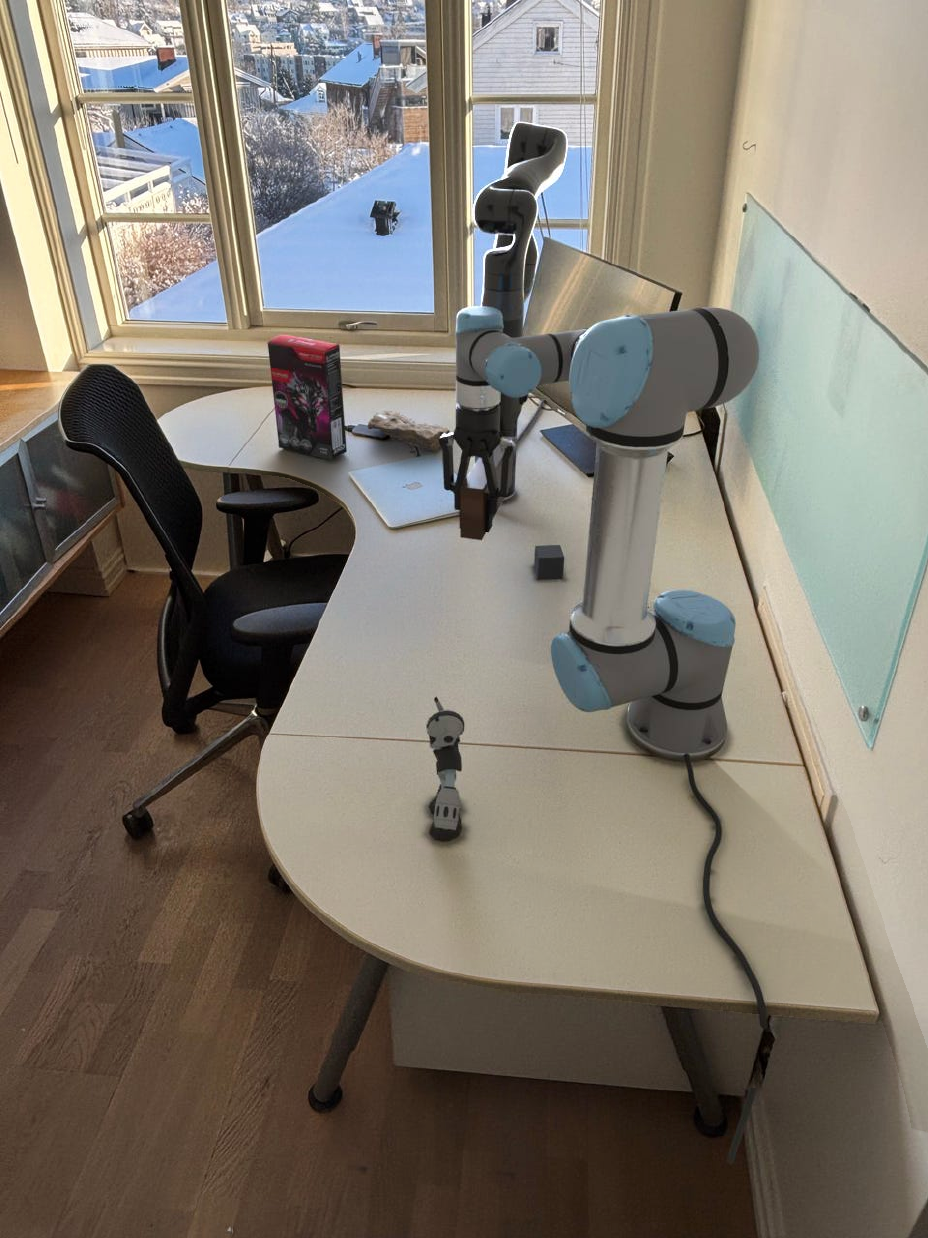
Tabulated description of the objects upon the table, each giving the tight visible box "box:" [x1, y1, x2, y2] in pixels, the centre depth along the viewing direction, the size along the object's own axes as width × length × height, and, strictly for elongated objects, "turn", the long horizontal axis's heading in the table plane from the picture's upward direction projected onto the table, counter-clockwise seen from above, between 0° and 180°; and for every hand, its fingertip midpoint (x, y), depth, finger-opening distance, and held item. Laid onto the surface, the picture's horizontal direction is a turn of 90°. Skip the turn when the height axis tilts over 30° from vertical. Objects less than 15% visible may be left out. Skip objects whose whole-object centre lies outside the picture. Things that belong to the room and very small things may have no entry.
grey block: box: [533, 544, 565, 581], centre depth 181 cm, size 5×5×5 cm
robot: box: [425, 696, 465, 842], centre depth 121 cm, size 20×5×20 cm, turn 3°
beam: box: [459, 436, 513, 541], centre depth 172 cm, size 24×4×10 cm, turn 165°
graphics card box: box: [267, 333, 348, 461], centre depth 223 cm, size 17×7×27 cm, turn 62°
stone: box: [367, 410, 451, 451], centre depth 235 cm, size 21×15×6 cm
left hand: (499, 401), depth 171 cm, fingers open, 8 cm apart
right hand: (476, 526), depth 167 cm, fingers closed on beam, 4 cm apart
